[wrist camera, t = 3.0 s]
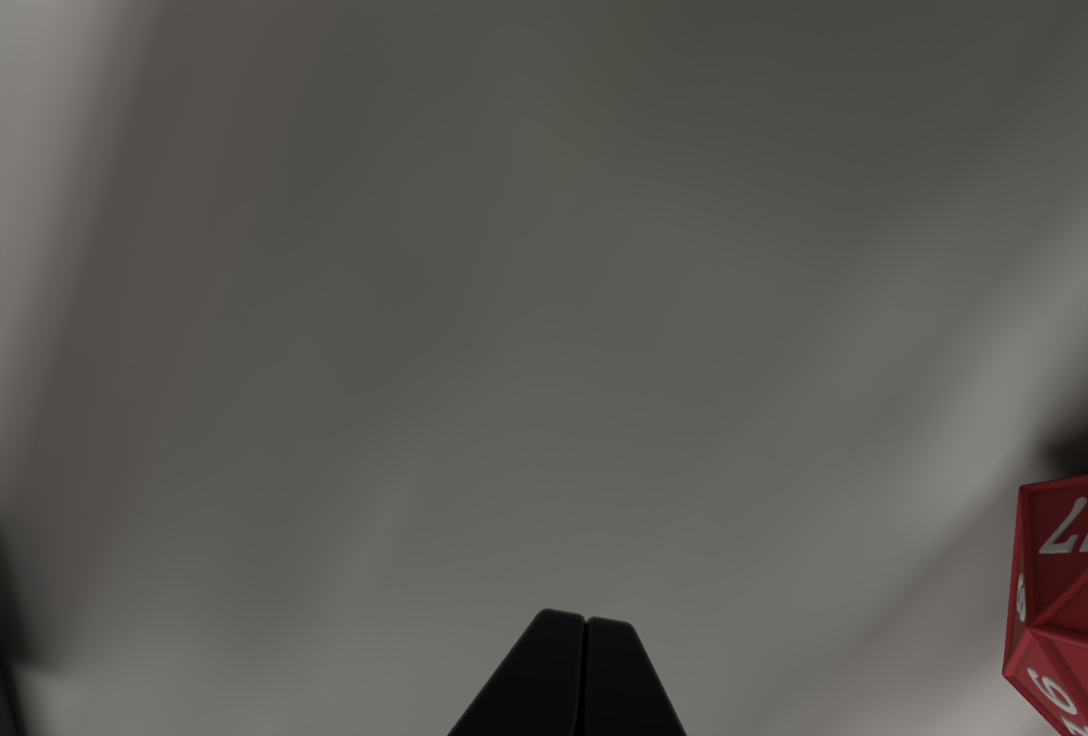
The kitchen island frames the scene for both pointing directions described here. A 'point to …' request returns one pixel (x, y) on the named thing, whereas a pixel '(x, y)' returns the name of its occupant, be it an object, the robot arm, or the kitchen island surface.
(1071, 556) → the dice
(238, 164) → the kitchen island surface
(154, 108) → the kitchen island surface
